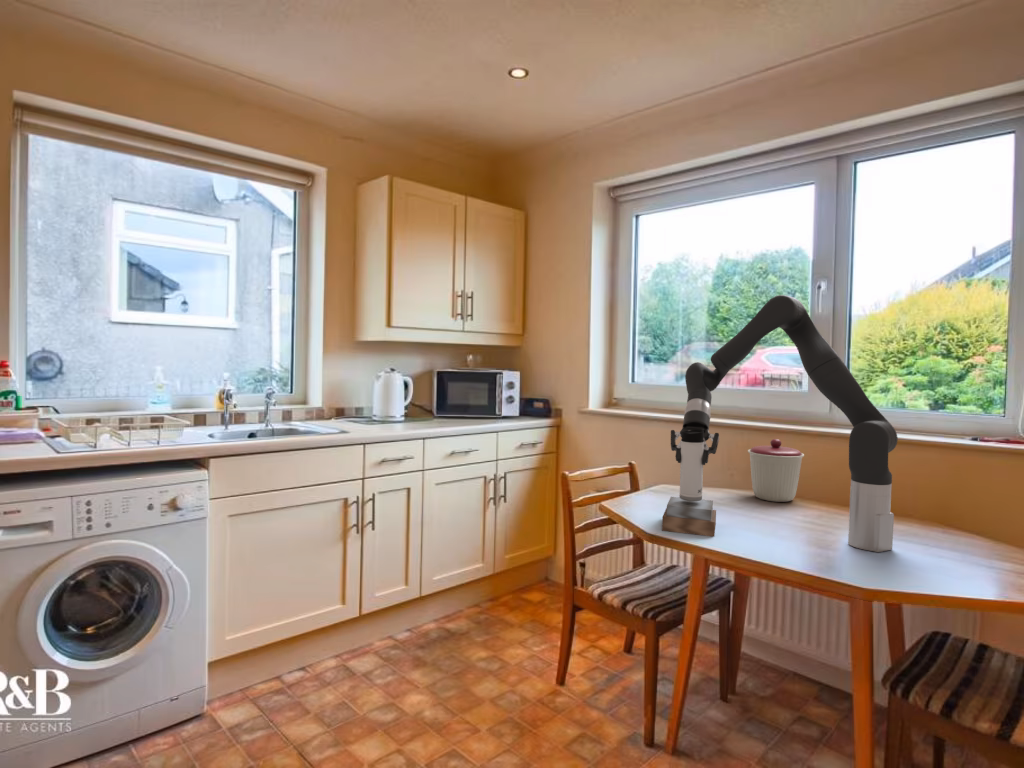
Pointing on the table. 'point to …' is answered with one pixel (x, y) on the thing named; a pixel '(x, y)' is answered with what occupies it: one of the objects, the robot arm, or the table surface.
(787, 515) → the table surface
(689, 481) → the travel mug
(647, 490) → the table surface
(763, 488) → the canister
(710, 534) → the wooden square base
